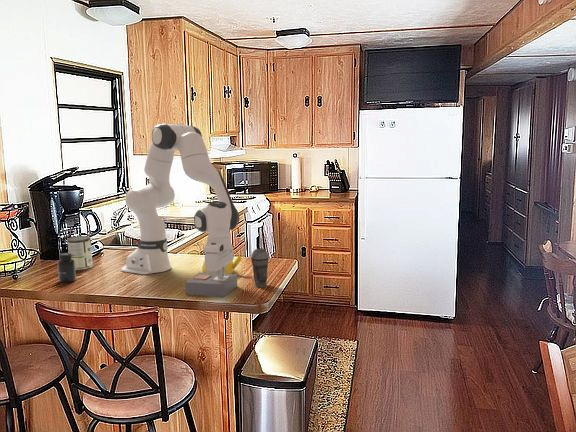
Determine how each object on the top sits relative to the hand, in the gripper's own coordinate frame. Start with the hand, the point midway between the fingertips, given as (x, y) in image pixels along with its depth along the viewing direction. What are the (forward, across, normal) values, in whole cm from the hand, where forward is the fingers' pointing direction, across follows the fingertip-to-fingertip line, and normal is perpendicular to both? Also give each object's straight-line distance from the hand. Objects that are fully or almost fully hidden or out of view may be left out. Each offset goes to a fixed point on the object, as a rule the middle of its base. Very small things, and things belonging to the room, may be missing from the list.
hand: (221, 277), depth 206 cm
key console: (+5, 0, -4) cm, 7 cm away
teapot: (+6, -23, -9) cm, 25 cm away
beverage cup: (+6, -10, +13) cm, 17 cm away
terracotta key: (+3, 0, -8) cm, 8 cm away
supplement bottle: (+6, +1, -71) cm, 71 cm away
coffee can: (+6, -20, -80) cm, 83 cm away
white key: (+2, 0, 0) cm, 2 cm away
